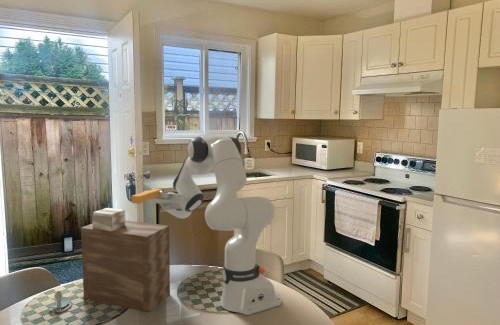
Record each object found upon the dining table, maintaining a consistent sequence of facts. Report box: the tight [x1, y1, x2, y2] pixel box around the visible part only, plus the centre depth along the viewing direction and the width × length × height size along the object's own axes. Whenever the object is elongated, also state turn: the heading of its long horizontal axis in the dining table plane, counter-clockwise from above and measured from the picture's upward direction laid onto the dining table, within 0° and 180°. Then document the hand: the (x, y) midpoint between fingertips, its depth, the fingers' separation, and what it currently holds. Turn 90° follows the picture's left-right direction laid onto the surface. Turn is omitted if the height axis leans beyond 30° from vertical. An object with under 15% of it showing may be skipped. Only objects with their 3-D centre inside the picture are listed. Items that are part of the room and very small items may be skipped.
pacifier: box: [49, 290, 72, 313], centre depth 134 cm, size 7×6×6 cm
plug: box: [131, 187, 165, 204], centre depth 161 cm, size 18×4×3 cm, turn 161°
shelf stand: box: [80, 207, 171, 313], centre depth 141 cm, size 14×28×33 cm, turn 71°
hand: (155, 192), depth 166 cm, fingers closed on plug, 3 cm apart
